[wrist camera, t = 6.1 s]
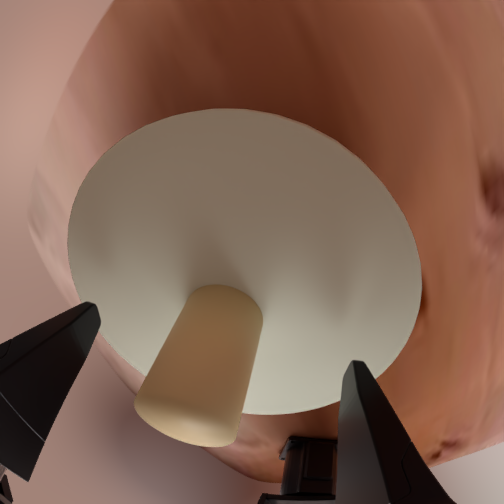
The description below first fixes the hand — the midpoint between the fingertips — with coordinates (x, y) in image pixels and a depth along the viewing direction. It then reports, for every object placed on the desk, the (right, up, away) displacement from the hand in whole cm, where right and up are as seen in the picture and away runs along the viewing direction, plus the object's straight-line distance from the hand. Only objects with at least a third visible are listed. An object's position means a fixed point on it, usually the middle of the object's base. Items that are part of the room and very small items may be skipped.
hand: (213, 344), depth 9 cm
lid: (+1, +2, +3) cm, 4 cm away
